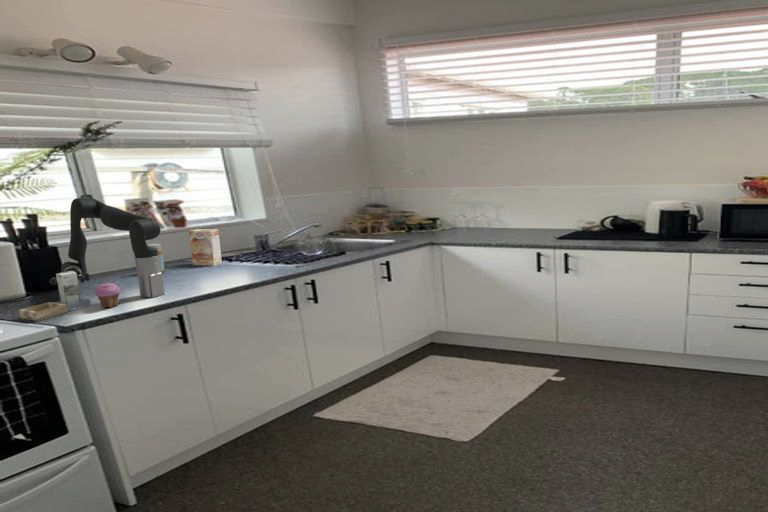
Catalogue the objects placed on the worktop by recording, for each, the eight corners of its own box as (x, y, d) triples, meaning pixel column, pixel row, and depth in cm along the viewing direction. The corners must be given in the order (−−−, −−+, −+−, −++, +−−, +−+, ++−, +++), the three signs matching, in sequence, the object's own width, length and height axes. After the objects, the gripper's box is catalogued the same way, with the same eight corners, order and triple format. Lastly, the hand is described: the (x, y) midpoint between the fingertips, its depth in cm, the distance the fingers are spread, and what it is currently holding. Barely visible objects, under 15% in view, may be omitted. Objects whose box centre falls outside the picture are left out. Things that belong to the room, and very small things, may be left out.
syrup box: (76, 304, 217) (70, 270, 214) (82, 306, 213) (76, 271, 211) (61, 307, 213) (55, 273, 210) (66, 309, 209) (60, 274, 206)
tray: (67, 313, 204) (66, 304, 203) (36, 321, 194) (35, 312, 193) (50, 310, 209) (49, 301, 209) (19, 318, 199) (18, 309, 199)
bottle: (150, 274, 271) (146, 246, 268) (150, 272, 278) (146, 244, 275) (164, 273, 274) (161, 244, 271) (164, 270, 280) (161, 243, 277)
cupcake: (112, 310, 206) (108, 285, 204) (92, 309, 207) (88, 285, 205) (126, 303, 214) (123, 280, 212) (108, 303, 216) (104, 280, 214)
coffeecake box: (192, 265, 292) (188, 230, 288) (201, 262, 299) (197, 228, 295) (213, 266, 287) (210, 230, 283) (222, 263, 293) (218, 229, 289)
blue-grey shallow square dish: (90, 304, 215) (89, 299, 215) (66, 311, 206) (65, 305, 206) (76, 302, 220) (75, 297, 219) (51, 309, 211) (50, 303, 211)
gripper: (52, 269, 231) (48, 275, 217) (88, 265, 237) (87, 271, 223) (54, 286, 232) (51, 293, 218) (91, 281, 239) (90, 288, 224)
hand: (69, 282), depth 221 cm, fingers open, 8 cm apart
